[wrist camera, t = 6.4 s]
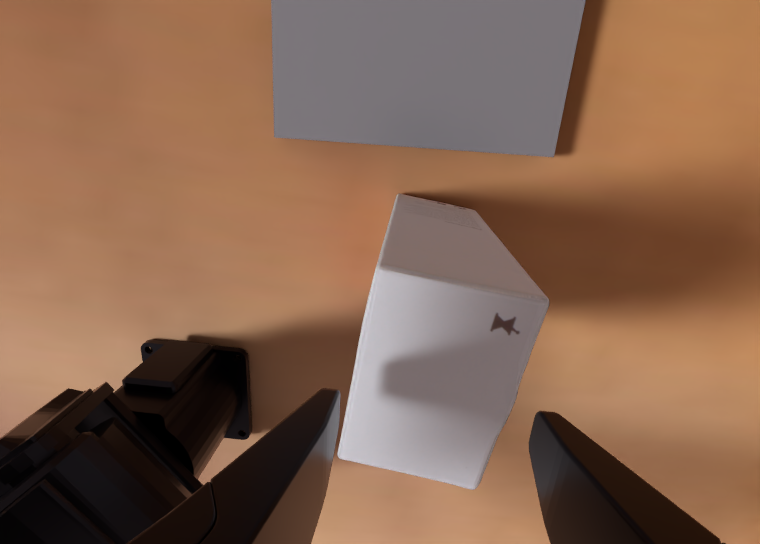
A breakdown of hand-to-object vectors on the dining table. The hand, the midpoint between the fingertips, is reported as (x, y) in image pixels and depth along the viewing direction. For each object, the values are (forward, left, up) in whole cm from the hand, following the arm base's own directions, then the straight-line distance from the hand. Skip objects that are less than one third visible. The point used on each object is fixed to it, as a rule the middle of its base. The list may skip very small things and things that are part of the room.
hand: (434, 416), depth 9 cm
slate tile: (+12, +1, -13) cm, 18 cm away
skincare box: (0, 0, -13) cm, 13 cm away
